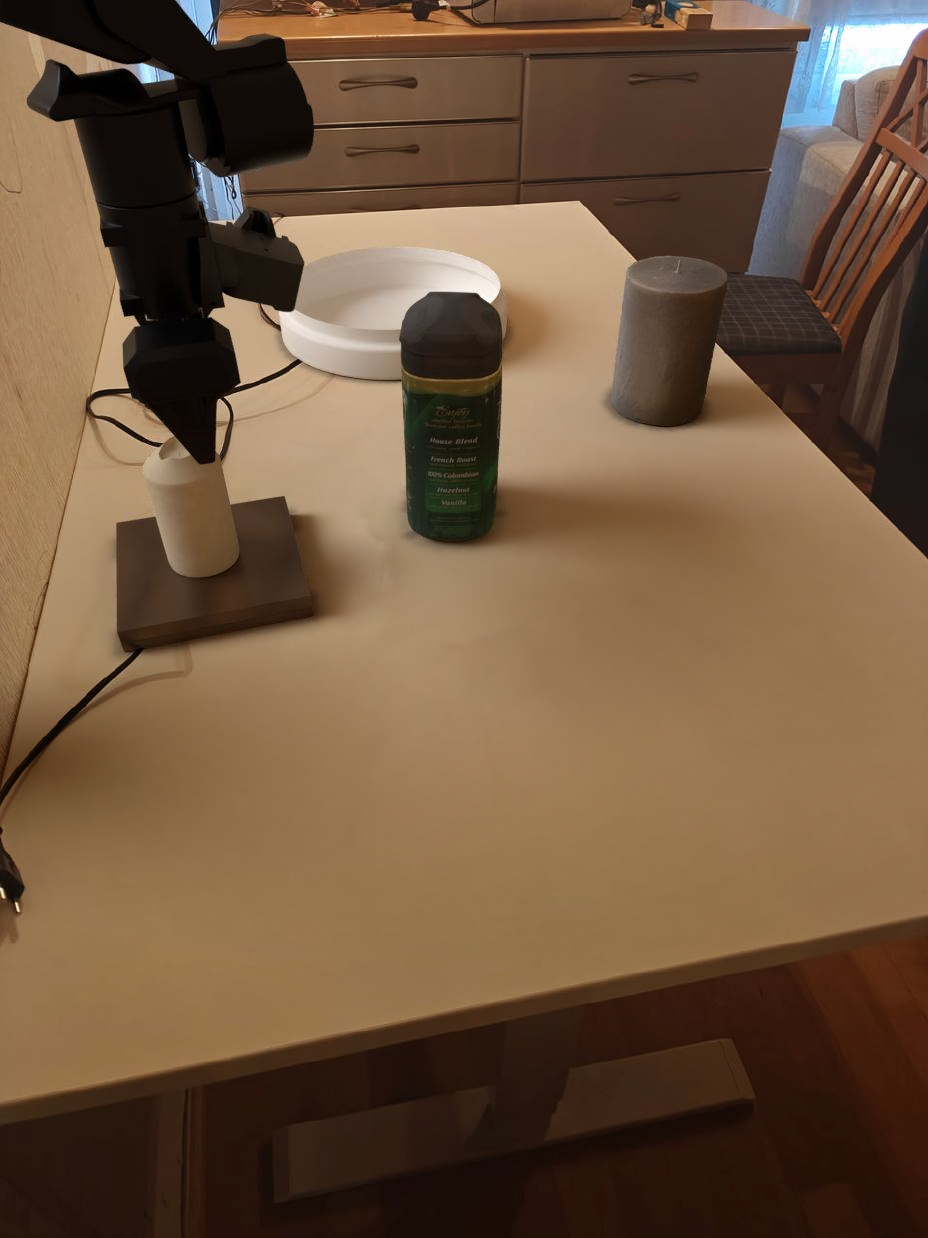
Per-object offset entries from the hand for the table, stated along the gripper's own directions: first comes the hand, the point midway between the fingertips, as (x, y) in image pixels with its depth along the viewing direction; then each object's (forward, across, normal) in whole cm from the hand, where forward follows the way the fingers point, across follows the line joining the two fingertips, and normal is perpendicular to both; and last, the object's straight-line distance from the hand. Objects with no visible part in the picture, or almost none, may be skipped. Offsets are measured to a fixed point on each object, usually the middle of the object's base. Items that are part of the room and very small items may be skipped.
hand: (201, 429), depth 61 cm
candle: (+11, 0, +2) cm, 12 cm away
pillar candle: (+14, +16, -45) cm, 50 cm away
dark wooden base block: (+13, 0, +2) cm, 13 cm away
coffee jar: (+14, +3, -19) cm, 24 cm away
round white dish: (+14, +42, -23) cm, 50 cm away
